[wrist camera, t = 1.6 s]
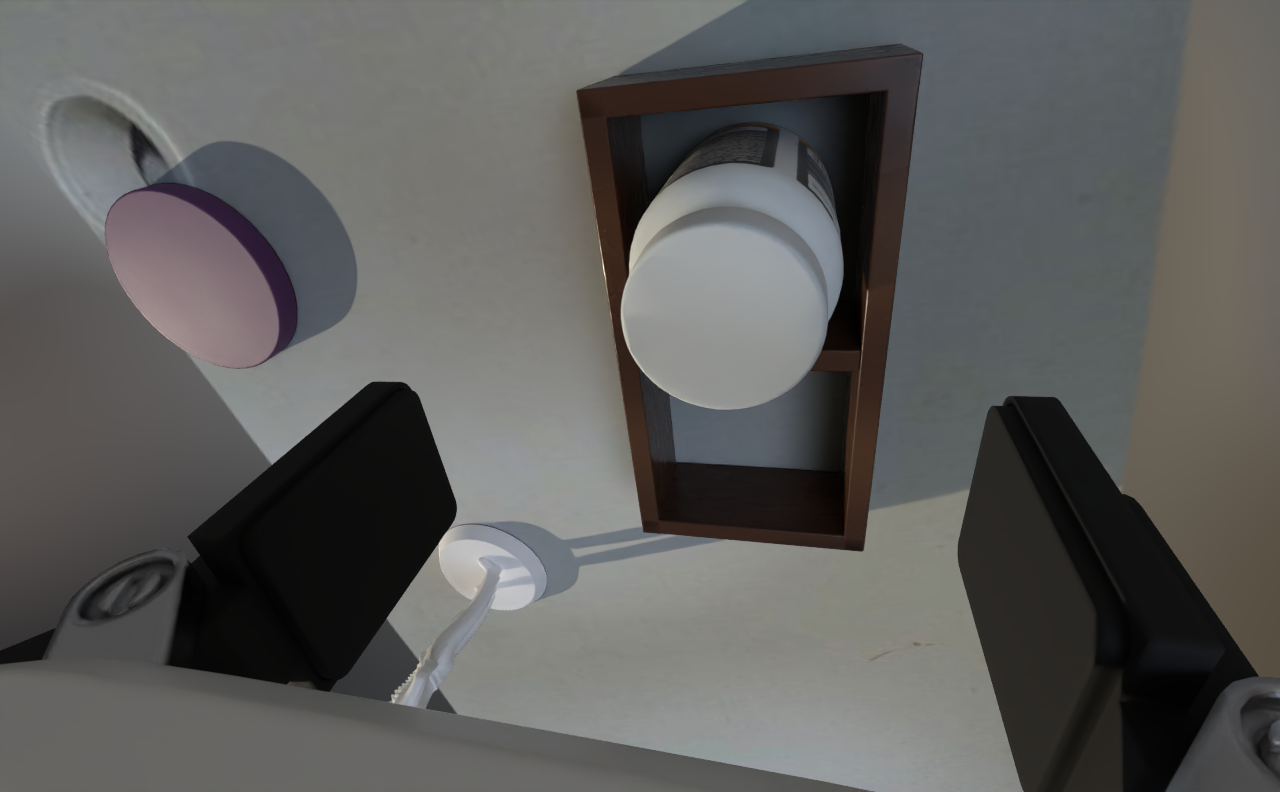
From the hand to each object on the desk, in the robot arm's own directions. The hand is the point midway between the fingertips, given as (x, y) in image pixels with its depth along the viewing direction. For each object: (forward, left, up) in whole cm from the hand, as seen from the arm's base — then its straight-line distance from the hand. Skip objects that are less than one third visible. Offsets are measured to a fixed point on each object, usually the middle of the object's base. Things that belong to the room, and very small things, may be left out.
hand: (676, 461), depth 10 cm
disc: (+2, -26, -14) cm, 30 cm away
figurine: (+21, -16, -15) cm, 30 cm away
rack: (+4, 0, -14) cm, 15 cm away
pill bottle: (0, 0, -15) cm, 15 cm away
